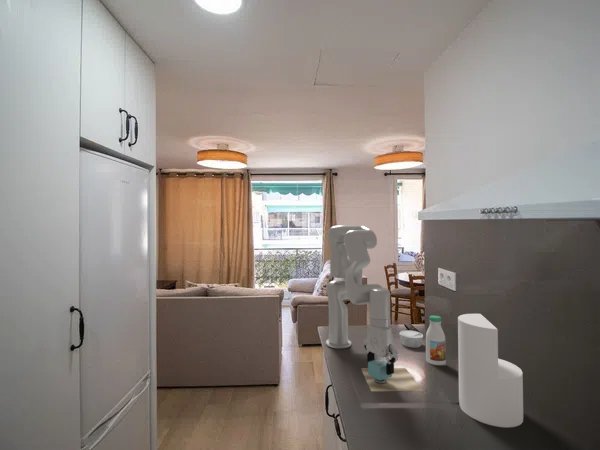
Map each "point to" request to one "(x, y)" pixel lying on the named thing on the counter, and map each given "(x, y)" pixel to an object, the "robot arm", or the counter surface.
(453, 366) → the counter surface
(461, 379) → the white stepped round block
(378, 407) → the counter surface
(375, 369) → the teal knob cube
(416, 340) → the ramekin
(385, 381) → the stud
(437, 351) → the milk bottle
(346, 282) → the robot arm
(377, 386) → the board
